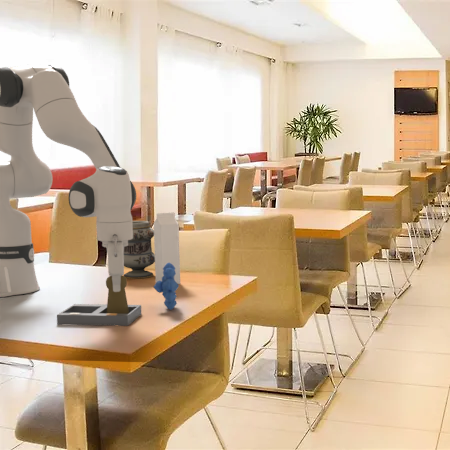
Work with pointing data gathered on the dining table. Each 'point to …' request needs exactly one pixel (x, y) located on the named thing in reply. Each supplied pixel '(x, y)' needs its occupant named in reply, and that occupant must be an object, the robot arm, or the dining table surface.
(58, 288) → the dining table surface
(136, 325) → the dining table surface
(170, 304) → the grapes
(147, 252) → the apothecary jar
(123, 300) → the cork
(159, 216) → the milk
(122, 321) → the panel
